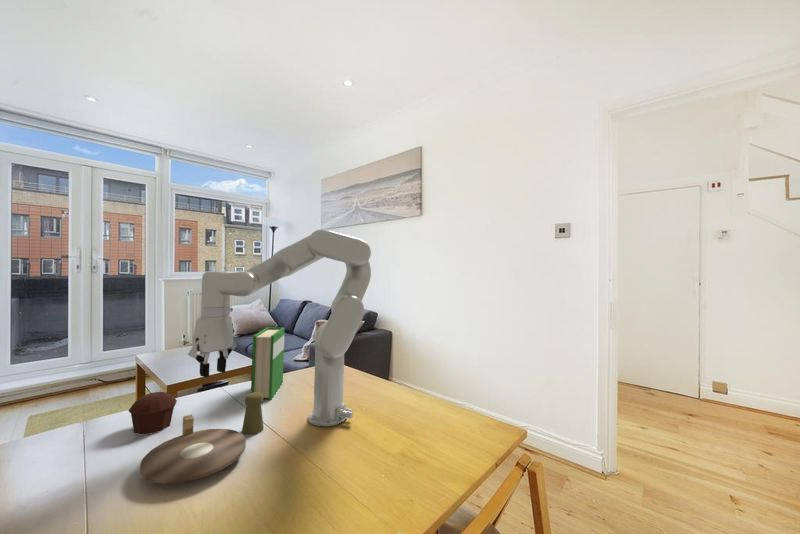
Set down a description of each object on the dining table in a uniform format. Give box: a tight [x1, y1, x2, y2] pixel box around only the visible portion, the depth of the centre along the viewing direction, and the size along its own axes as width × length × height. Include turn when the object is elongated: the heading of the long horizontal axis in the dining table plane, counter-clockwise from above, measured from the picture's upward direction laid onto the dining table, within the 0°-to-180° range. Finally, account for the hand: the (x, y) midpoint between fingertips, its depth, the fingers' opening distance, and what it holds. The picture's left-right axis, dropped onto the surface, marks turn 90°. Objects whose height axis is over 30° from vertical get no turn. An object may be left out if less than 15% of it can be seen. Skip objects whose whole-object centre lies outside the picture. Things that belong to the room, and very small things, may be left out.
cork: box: [241, 392, 265, 436], centre depth 96 cm, size 6×6×11 cm
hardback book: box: [250, 327, 286, 401], centre depth 127 cm, size 18×7×24 cm, turn 7°
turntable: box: [139, 414, 247, 484], centre depth 80 cm, size 23×22×5 cm
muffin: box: [128, 391, 178, 435], centre depth 96 cm, size 12×11×10 cm
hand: (213, 373), depth 95 cm, fingers open, 4 cm apart
